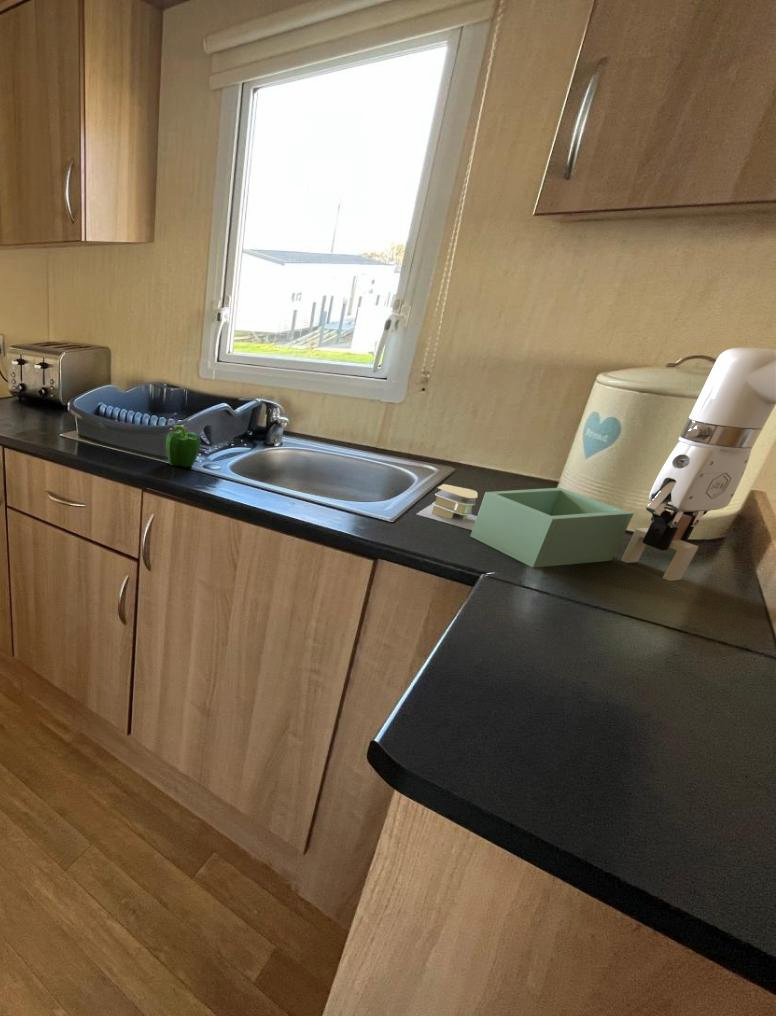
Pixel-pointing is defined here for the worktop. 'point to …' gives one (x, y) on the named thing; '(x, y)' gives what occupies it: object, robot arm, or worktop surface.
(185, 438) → the bell pepper
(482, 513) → the tote
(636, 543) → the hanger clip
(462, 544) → the worktop surface
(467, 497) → the stacked layers on plate
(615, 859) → the worktop surface
